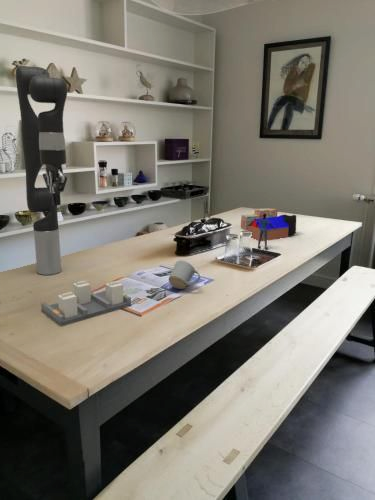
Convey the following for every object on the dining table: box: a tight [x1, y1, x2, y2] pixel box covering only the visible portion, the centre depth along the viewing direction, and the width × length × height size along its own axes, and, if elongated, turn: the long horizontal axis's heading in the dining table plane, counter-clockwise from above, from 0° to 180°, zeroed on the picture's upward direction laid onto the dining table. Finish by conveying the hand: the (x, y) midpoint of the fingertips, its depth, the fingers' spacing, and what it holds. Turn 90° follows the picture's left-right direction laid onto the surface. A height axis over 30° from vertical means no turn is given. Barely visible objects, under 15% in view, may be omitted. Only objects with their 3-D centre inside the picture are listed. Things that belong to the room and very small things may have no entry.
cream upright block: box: [57, 291, 78, 319], centre depth 124 cm, size 4×4×7 cm
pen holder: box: [279, 214, 297, 237], centre depth 232 cm, size 9×9×10 cm
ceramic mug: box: [168, 260, 201, 290], centre depth 149 cm, size 11×8×8 cm
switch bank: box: [40, 290, 132, 327], centre depth 132 cm, size 14×24×3 cm, turn 131°
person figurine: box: [256, 214, 276, 251], centre depth 202 cm, size 11×4×18 cm, turn 52°
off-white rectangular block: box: [72, 280, 92, 305], centre depth 133 cm, size 4×4×7 cm
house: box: [247, 215, 289, 242], centre depth 226 cm, size 12×20×12 cm, turn 121°
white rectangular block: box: [105, 280, 124, 305], centre depth 134 cm, size 4×4×7 cm
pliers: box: [202, 197, 211, 220], centre depth 238 cm, size 10×1×20 cm, turn 144°
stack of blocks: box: [240, 207, 279, 231], centre depth 247 cm, size 21×6×12 cm, turn 114°
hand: (56, 205), depth 130 cm, fingers closed
